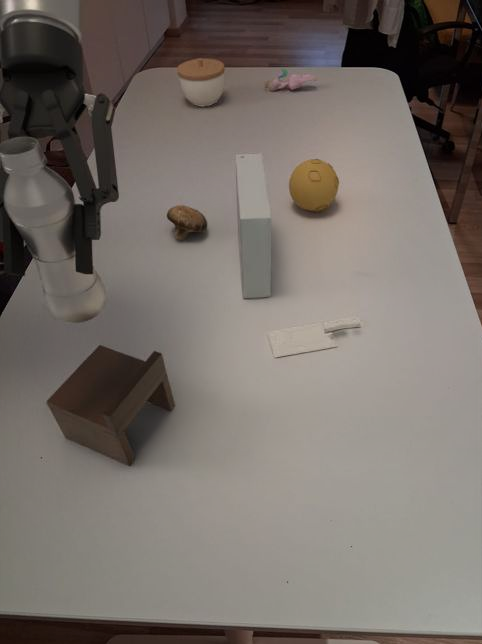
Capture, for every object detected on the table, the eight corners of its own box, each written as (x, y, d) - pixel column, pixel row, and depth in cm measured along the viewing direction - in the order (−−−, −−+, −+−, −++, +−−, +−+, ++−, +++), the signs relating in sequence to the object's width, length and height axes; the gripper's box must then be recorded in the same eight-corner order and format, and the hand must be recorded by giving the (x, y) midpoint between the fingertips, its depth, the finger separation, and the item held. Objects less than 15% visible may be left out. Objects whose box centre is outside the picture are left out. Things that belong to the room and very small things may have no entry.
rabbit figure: (264, 98, 152) (317, 90, 149) (260, 76, 148) (314, 67, 145) (267, 89, 157) (318, 81, 153) (263, 68, 152) (315, 59, 149)
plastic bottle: (77, 286, 65) (15, 124, 51) (122, 301, 63) (71, 136, 49) (40, 320, 62) (-38, 155, 47) (87, 337, 59) (20, 169, 45)
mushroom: (166, 237, 100) (175, 203, 98) (158, 230, 107) (166, 199, 105) (206, 248, 103) (215, 216, 102) (195, 241, 110) (204, 211, 109)
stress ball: (295, 223, 107) (295, 177, 100) (284, 198, 114) (283, 153, 106) (343, 216, 108) (347, 170, 101) (329, 191, 115) (332, 146, 107)
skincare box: (274, 297, 92) (272, 217, 80) (242, 300, 92) (235, 220, 80) (265, 227, 106) (262, 151, 95) (237, 229, 106) (231, 153, 95)
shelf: (64, 437, 74) (37, 386, 66) (113, 381, 80) (93, 329, 72) (130, 466, 70) (109, 416, 62) (175, 405, 77) (162, 353, 69)
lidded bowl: (172, 102, 150) (166, 59, 142) (208, 89, 155) (203, 47, 147) (200, 115, 143) (195, 71, 135) (236, 101, 149) (233, 58, 141)
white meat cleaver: (367, 341, 84) (368, 337, 83) (273, 358, 82) (273, 353, 82) (357, 319, 87) (358, 314, 86) (267, 334, 86) (267, 330, 85)
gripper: (148, 54, 56) (154, 275, 57) (-32, 61, 57) (-24, 279, 58) (128, 12, 49) (135, 266, 50) (-80, 21, 50) (-70, 271, 50)
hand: (49, 273), depth 54 cm, fingers closed on plastic bottle, 6 cm apart
